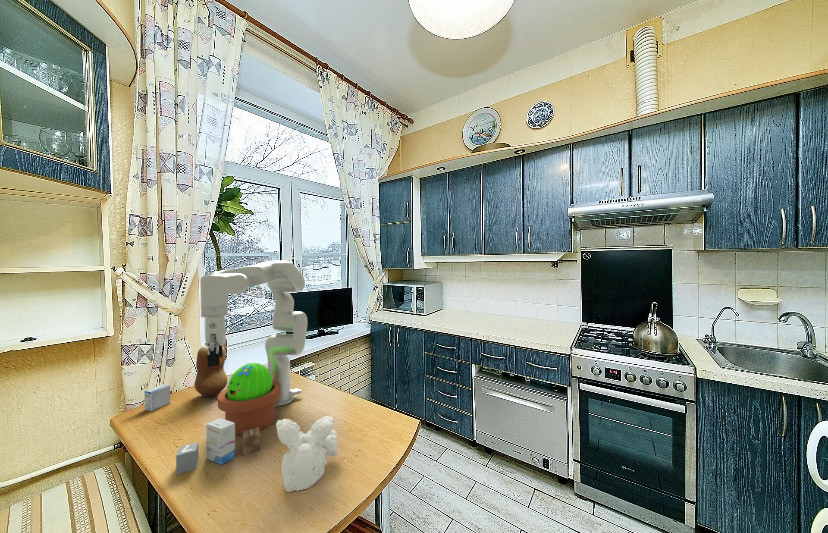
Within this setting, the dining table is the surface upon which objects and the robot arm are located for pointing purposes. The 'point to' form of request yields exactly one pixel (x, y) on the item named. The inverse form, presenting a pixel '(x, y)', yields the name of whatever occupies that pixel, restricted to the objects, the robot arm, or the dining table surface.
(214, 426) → the ink box
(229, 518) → the dining table surface
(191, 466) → the slate block
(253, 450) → the walnut block
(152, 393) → the medicine box
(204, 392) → the butternut squash
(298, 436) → the cauliflower
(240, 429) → the potted cactus
